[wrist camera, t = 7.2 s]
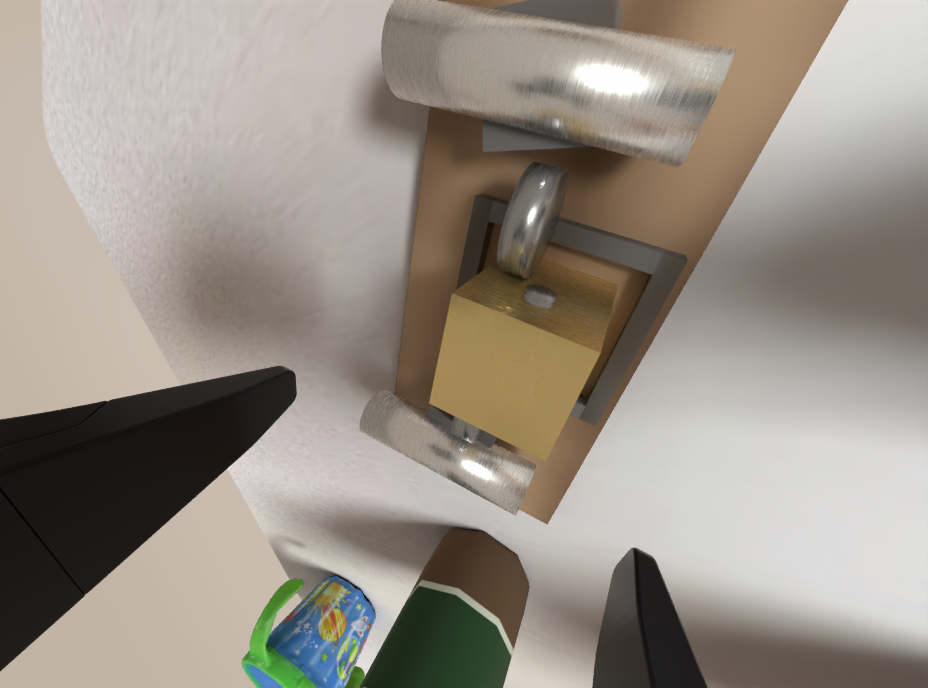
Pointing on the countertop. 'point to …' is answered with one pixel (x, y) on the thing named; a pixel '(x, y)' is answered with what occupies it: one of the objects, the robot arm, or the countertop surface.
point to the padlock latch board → (602, 201)
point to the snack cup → (311, 638)
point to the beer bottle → (456, 619)
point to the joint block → (521, 351)
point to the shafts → (541, 186)
